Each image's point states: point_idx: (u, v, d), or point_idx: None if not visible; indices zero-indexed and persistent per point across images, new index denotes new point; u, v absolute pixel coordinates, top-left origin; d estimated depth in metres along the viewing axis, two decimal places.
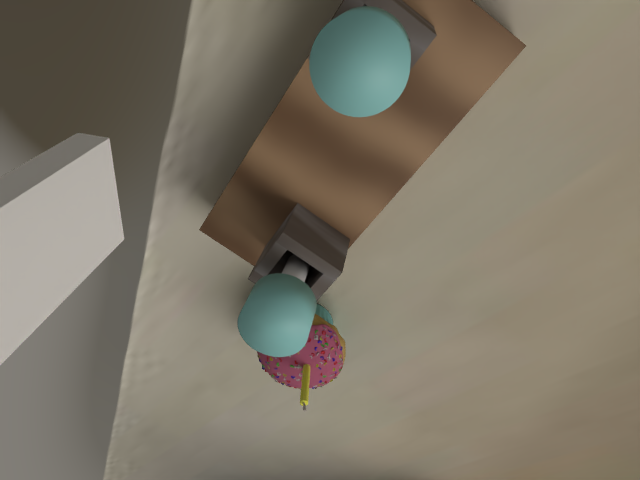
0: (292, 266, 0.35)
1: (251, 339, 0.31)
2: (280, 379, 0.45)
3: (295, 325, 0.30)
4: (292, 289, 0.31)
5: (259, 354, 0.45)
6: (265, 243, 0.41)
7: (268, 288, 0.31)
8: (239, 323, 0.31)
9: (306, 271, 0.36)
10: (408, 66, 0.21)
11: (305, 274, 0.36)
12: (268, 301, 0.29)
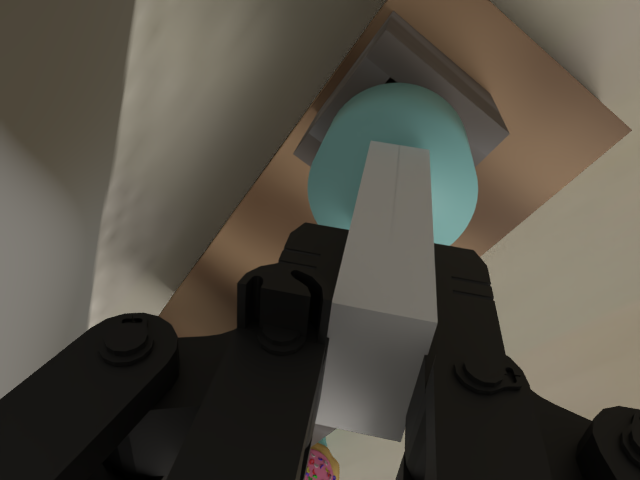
0: None
1: None
2: None
3: None
4: None
5: None
6: None
7: None
8: None
9: None
10: (473, 201, 0.13)
11: None
12: None
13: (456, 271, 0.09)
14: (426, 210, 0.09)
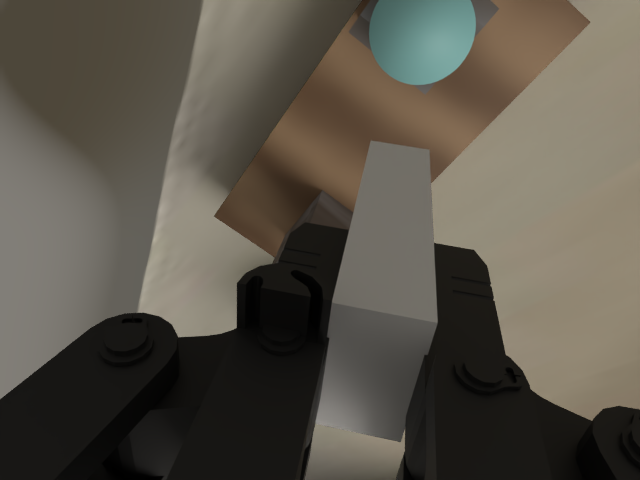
0: None
1: None
2: None
3: None
4: None
5: None
6: (285, 232, 0.38)
7: None
8: None
9: None
10: (473, 32, 0.21)
11: None
12: None
13: (456, 271, 0.09)
14: (426, 210, 0.09)
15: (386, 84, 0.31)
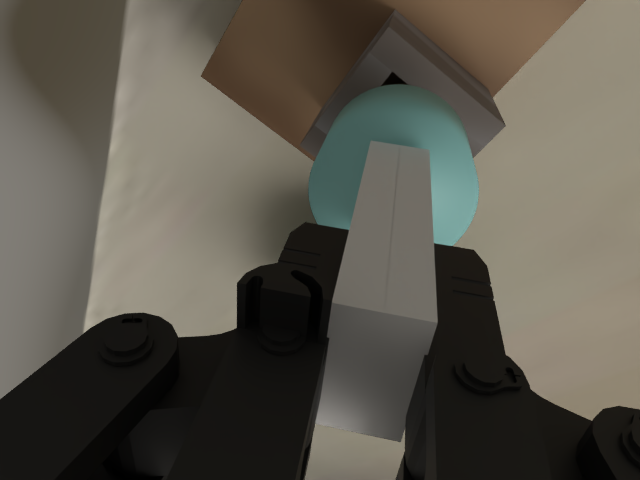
0: None
1: (336, 223, 0.14)
2: None
3: (449, 184, 0.13)
4: (437, 107, 0.13)
5: None
6: (322, 102, 0.22)
7: (383, 100, 0.13)
8: (313, 182, 0.13)
9: None
10: None
11: None
12: (394, 116, 0.12)
13: (456, 271, 0.09)
14: (426, 210, 0.09)
15: None
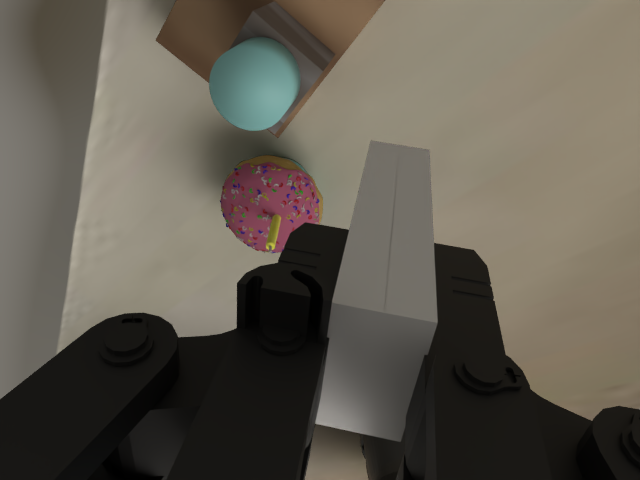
0: None
1: (224, 106, 0.27)
2: (246, 236, 0.39)
3: (274, 84, 0.26)
4: (274, 47, 0.27)
5: (223, 206, 0.39)
6: None
7: (246, 42, 0.27)
8: (211, 83, 0.27)
9: None
10: None
11: None
12: (245, 48, 0.26)
13: (456, 271, 0.09)
14: (426, 210, 0.09)
15: None
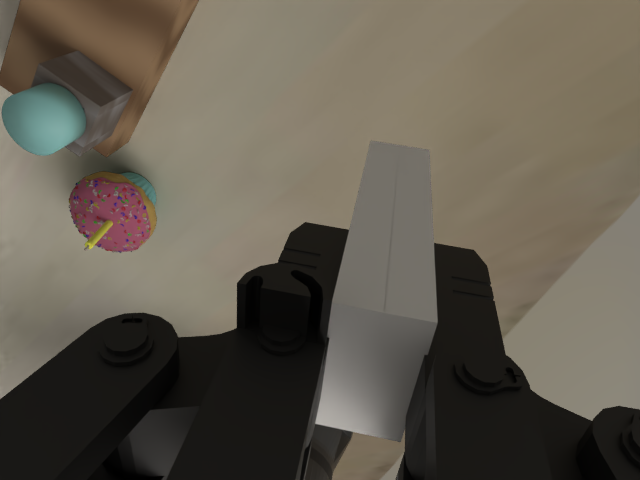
0: None
1: (18, 137, 0.36)
2: None
3: (48, 120, 0.34)
4: (51, 92, 0.35)
5: None
6: None
7: (28, 89, 0.35)
8: (4, 120, 0.35)
9: None
10: None
11: None
12: (20, 94, 0.34)
13: (456, 271, 0.09)
14: (426, 210, 0.09)
15: None
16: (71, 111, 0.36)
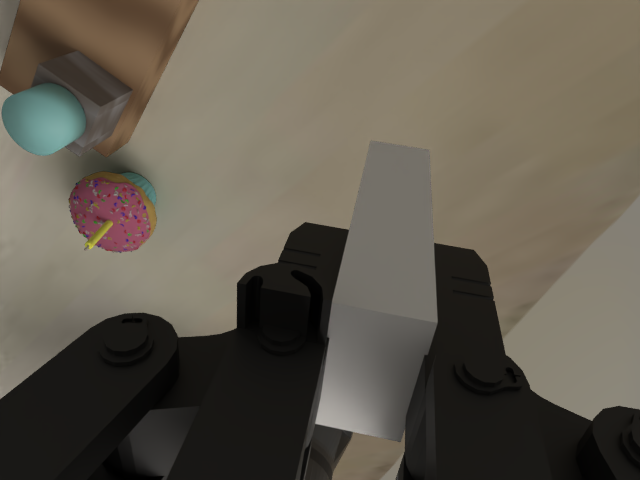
0: None
1: (18, 137, 0.36)
2: None
3: (48, 120, 0.34)
4: (50, 92, 0.35)
5: None
6: None
7: (28, 89, 0.35)
8: (4, 120, 0.35)
9: None
10: None
11: None
12: (20, 94, 0.34)
13: (456, 271, 0.09)
14: (426, 210, 0.09)
15: None
16: (71, 111, 0.36)
